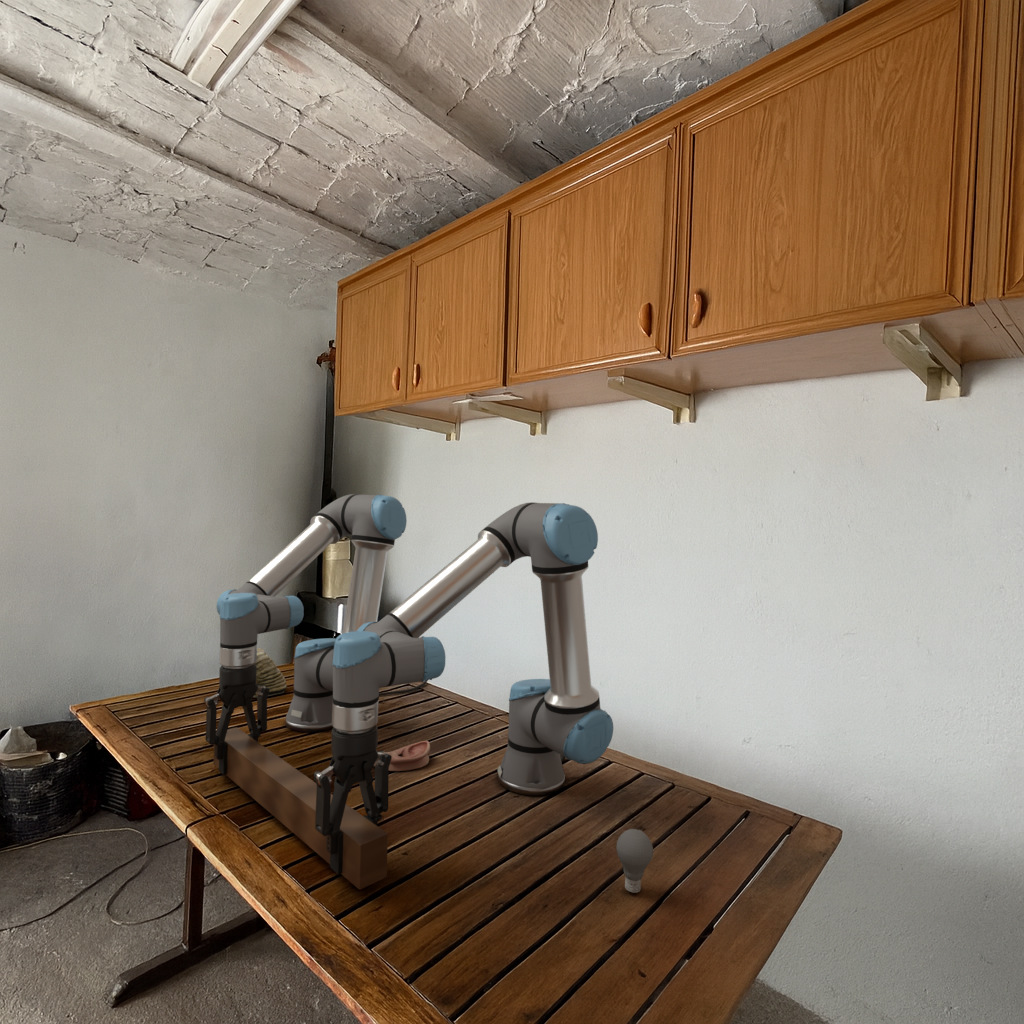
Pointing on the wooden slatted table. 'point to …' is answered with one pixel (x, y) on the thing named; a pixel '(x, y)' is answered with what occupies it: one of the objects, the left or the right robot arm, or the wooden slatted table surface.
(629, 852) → the light bulb
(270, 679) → the fossil
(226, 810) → the wooden slatted table surface
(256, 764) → the bar
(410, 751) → the anatomical model
